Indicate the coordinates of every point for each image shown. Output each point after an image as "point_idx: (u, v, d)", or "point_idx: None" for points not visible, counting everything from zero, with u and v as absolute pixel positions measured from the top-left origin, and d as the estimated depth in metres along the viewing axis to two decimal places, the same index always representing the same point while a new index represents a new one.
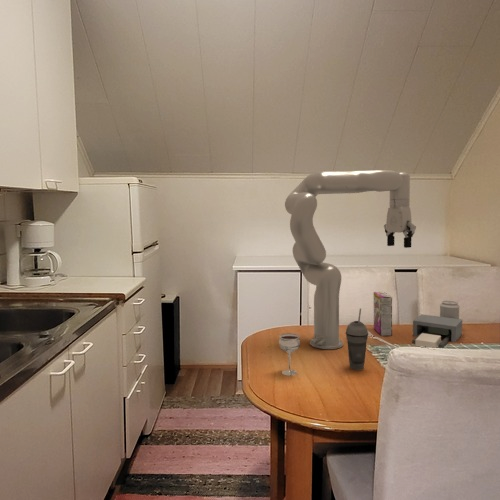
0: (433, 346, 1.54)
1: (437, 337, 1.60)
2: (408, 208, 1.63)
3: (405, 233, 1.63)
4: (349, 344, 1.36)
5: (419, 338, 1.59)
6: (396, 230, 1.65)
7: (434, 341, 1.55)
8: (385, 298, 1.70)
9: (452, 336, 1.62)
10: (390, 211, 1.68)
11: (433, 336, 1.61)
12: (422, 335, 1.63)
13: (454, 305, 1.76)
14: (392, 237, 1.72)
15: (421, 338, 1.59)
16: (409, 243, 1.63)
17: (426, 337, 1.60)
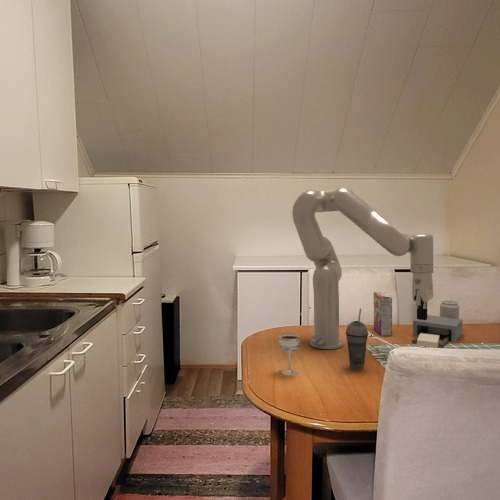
0: (435, 346, 1.54)
1: (436, 337, 1.61)
2: None
3: None
4: (349, 344, 1.36)
5: (420, 338, 1.59)
6: (431, 297, 1.48)
7: (436, 341, 1.56)
8: (385, 298, 1.70)
9: (452, 336, 1.62)
10: (428, 278, 1.45)
11: (432, 336, 1.62)
12: (421, 335, 1.63)
13: (454, 305, 1.76)
14: None
15: (422, 338, 1.59)
16: None
17: (426, 338, 1.60)
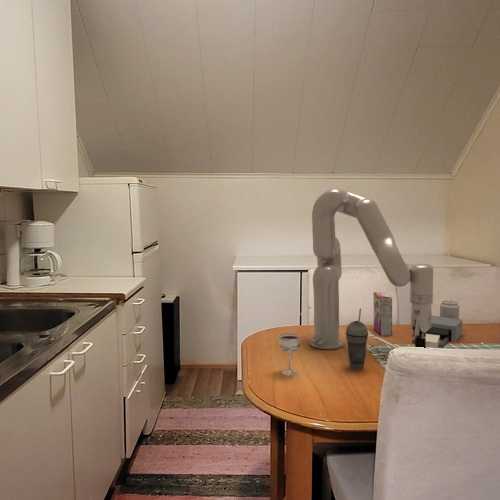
0: (435, 346, 1.54)
1: (437, 337, 1.60)
2: None
3: (425, 333, 1.51)
4: (349, 344, 1.36)
5: None
6: (430, 327, 1.50)
7: (435, 341, 1.55)
8: (385, 298, 1.70)
9: (452, 336, 1.62)
10: (427, 308, 1.47)
11: (432, 336, 1.62)
12: None
13: (454, 305, 1.76)
14: None
15: None
16: None
17: (426, 338, 1.60)
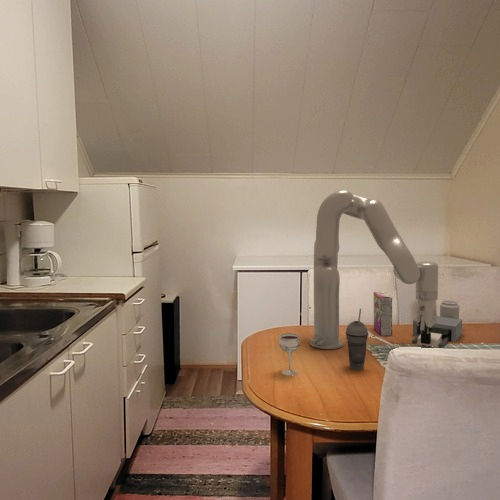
0: (435, 344, 1.56)
1: (438, 335, 1.62)
2: None
3: (430, 328, 1.57)
4: (349, 344, 1.36)
5: None
6: (435, 322, 1.56)
7: (436, 339, 1.57)
8: (385, 298, 1.70)
9: (452, 336, 1.62)
10: (432, 304, 1.52)
11: (434, 334, 1.63)
12: None
13: (454, 305, 1.76)
14: None
15: None
16: None
17: None
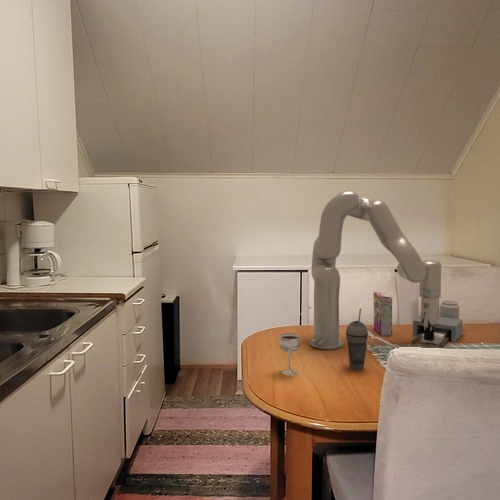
0: (439, 341, 1.60)
1: (443, 333, 1.65)
2: None
3: None
4: (349, 344, 1.36)
5: None
6: (438, 319, 1.59)
7: (440, 336, 1.61)
8: (385, 298, 1.70)
9: (452, 336, 1.62)
10: (436, 302, 1.56)
11: (439, 332, 1.67)
12: None
13: (454, 305, 1.76)
14: None
15: None
16: None
17: None
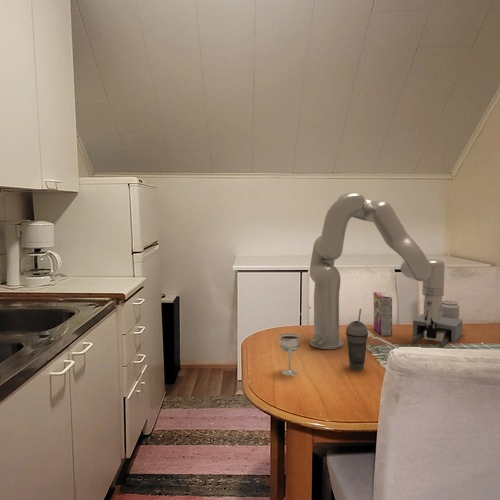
0: (441, 338, 1.63)
1: (445, 330, 1.69)
2: None
3: (436, 323, 1.64)
4: (349, 344, 1.36)
5: None
6: (440, 317, 1.63)
7: (442, 333, 1.64)
8: (385, 298, 1.70)
9: (452, 336, 1.62)
10: (439, 300, 1.59)
11: (441, 329, 1.70)
12: None
13: (454, 305, 1.76)
14: None
15: None
16: None
17: None
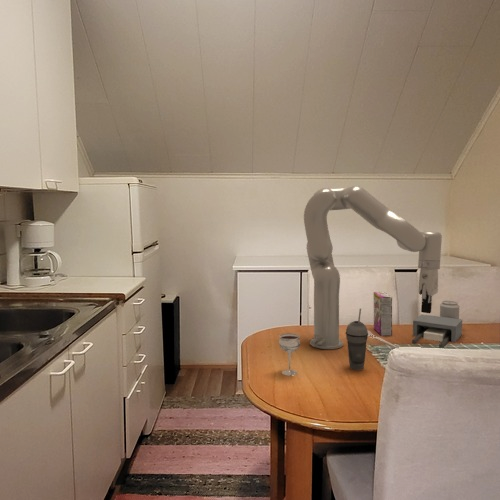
0: (440, 339, 1.63)
1: (444, 330, 1.69)
2: None
3: (431, 297, 1.58)
4: (349, 344, 1.36)
5: (427, 331, 1.68)
6: (436, 292, 1.57)
7: (441, 334, 1.64)
8: (385, 298, 1.70)
9: (452, 336, 1.62)
10: (435, 273, 1.54)
11: (441, 330, 1.70)
12: (430, 329, 1.72)
13: (454, 305, 1.76)
14: None
15: (429, 331, 1.68)
16: None
17: (433, 331, 1.68)
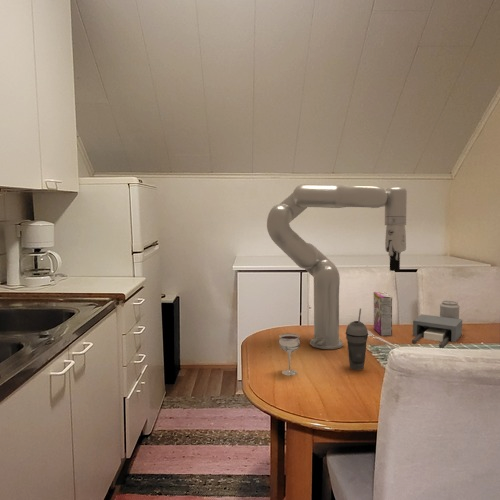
0: (441, 339, 1.63)
1: (444, 330, 1.69)
2: None
3: (399, 255, 1.56)
4: (349, 344, 1.36)
5: (427, 331, 1.68)
6: (404, 249, 1.55)
7: (441, 334, 1.64)
8: (385, 298, 1.70)
9: (452, 336, 1.62)
10: (401, 229, 1.51)
11: (441, 329, 1.70)
12: (430, 328, 1.72)
13: (454, 305, 1.76)
14: None
15: (429, 331, 1.68)
16: None
17: (433, 331, 1.68)
